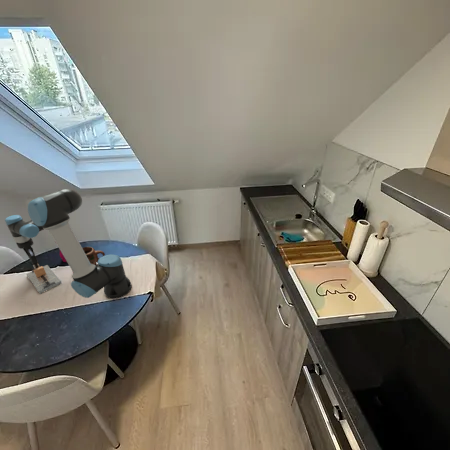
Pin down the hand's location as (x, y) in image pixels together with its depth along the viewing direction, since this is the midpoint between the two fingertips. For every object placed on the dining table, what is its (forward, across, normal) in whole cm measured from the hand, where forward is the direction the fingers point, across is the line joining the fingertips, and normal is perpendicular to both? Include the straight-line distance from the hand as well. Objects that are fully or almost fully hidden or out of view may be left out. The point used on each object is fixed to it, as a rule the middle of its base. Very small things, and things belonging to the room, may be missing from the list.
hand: (38, 271), depth 159 cm
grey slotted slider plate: (+4, -6, 0) cm, 7 cm away
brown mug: (+4, -18, -25) cm, 31 cm away
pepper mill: (+4, +4, -18) cm, 19 cm away
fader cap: (+1, -3, 0) cm, 3 cm away
